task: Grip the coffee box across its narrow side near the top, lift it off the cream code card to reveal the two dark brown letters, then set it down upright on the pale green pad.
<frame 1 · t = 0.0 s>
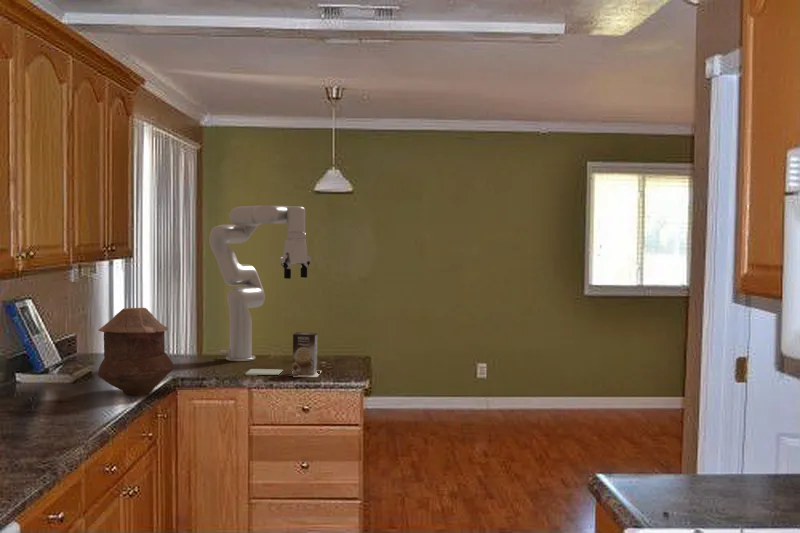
hand: (295, 277, 361), 37 cm above the countertop, tool pointing down, fingers open, 9 cm apart
coffee box: (304, 373, 349), resting on code card
green pad: (264, 373, 349), on the countertop
code card: (304, 373, 349), on the countertop
pottery vessel: (135, 393, 307), on the countertop
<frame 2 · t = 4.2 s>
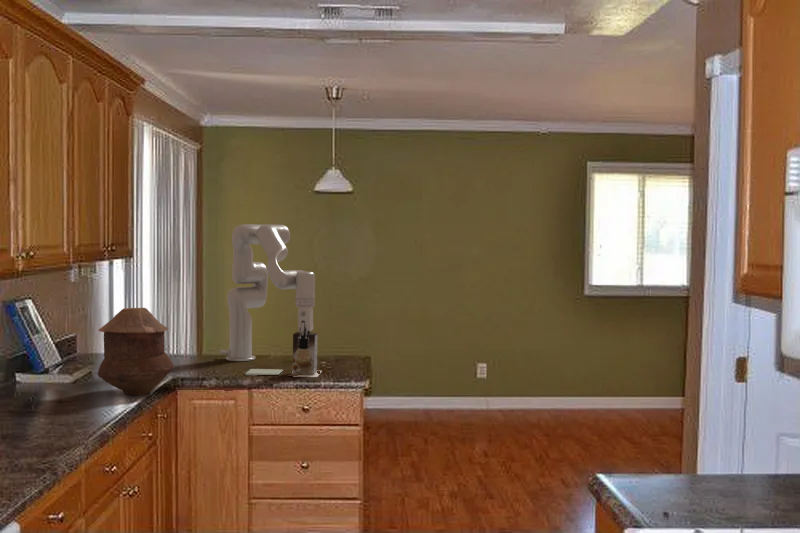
hand: (304, 347, 348), 11 cm above the countertop, tool pointing down, fingers closed on coffee box, 6 cm apart
coffee box: (304, 373, 349), resting on code card, touching gripper
everything else where it was.
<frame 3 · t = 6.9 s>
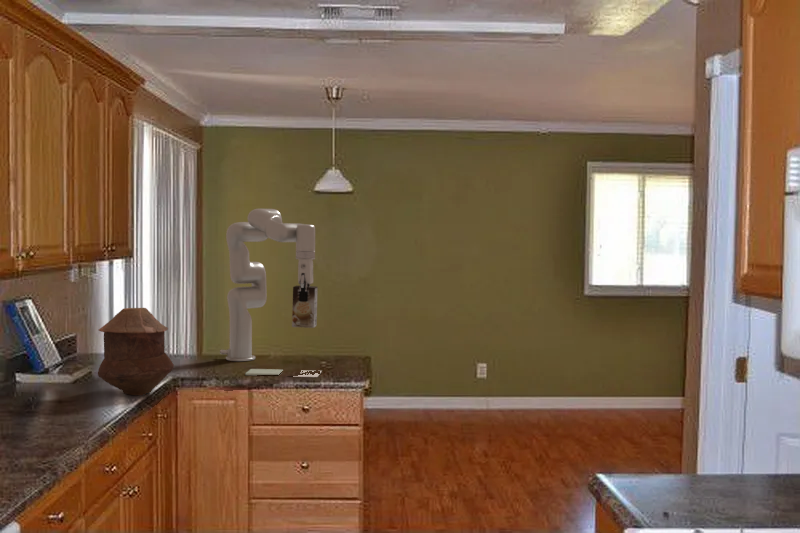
hand: (304, 300, 348), 29 cm above the countertop, tool pointing down, fingers closed on coffee box, 6 cm apart
coffee box: (304, 327, 348), point 19 cm above the countertop, touching gripper
everything else where it was.
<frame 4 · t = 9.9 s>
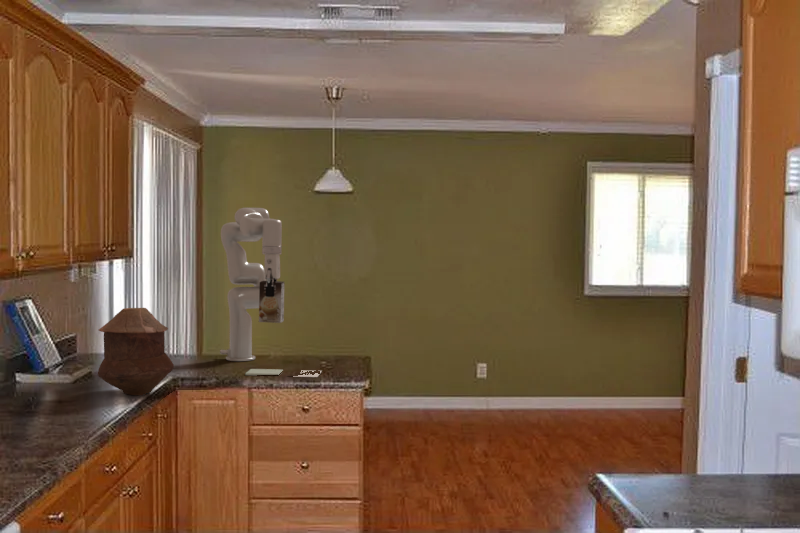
hand: (271, 295, 347), 31 cm above the countertop, tool pointing down, fingers closed on coffee box, 6 cm apart
coffee box: (271, 322, 348), point 20 cm above the countertop, touching gripper
everything else where it was.
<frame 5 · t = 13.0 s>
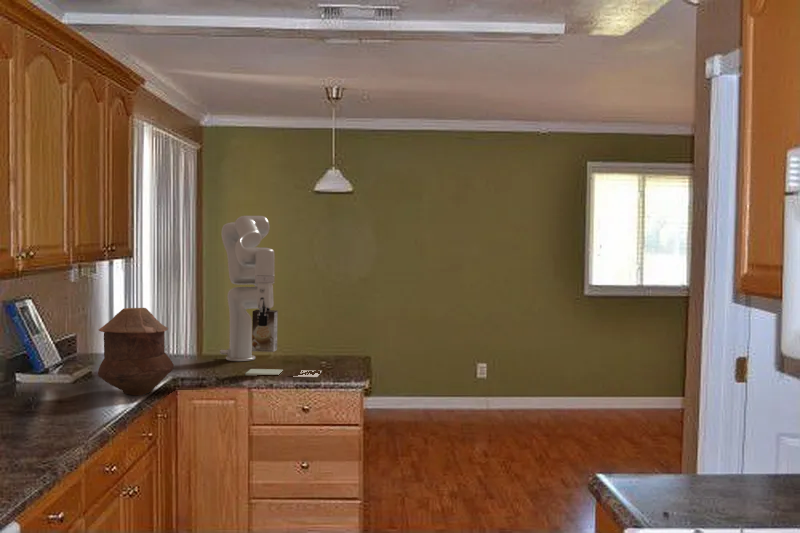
hand: (264, 324, 348), 20 cm above the countertop, tool pointing down, fingers closed on coffee box, 6 cm apart
coffee box: (264, 351, 348), point 9 cm above the countertop, touching gripper
everything else where it was.
when the fingers open (13 cm above the countertop, at t = 15.6 s): coffee box drops 2 cm, resting on green pad.
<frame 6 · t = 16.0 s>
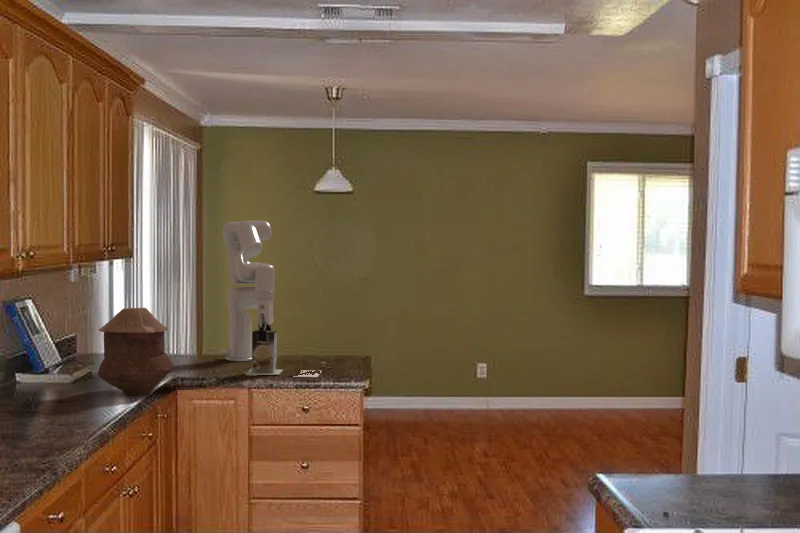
hand: (264, 338, 348), 14 cm above the countertop, tool pointing down, fingers open, 9 cm apart
coffee box: (264, 371, 349), point 1 cm above the countertop, touching green pad
everything else where it was.
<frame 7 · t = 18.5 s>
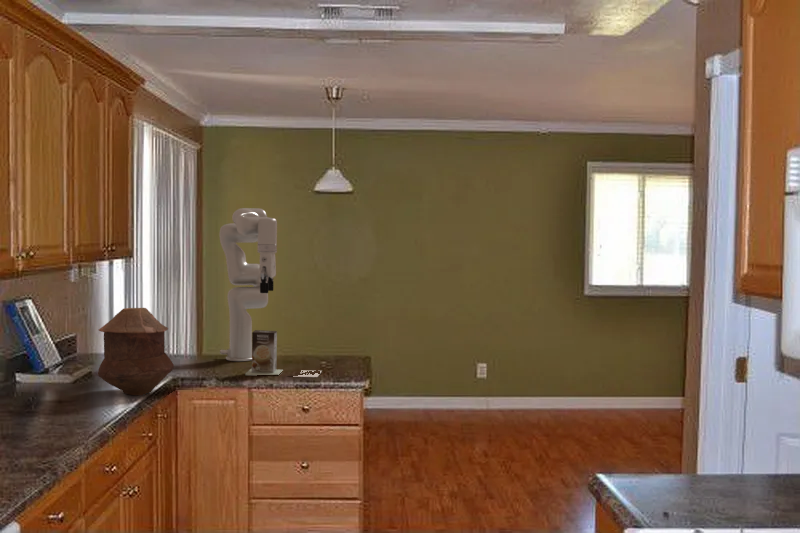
hand: (266, 291, 349), 32 cm above the countertop, tool pointing down, fingers open, 9 cm apart
nothing on the countertop moved.
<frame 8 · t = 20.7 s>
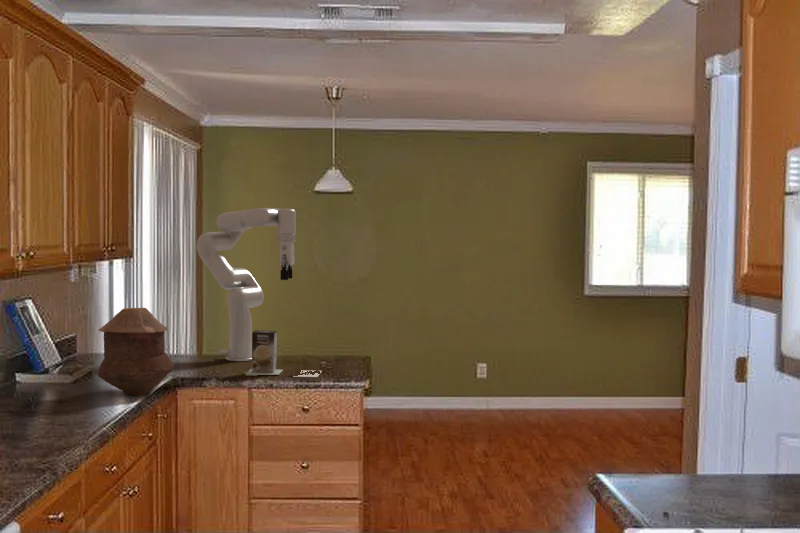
hand: (286, 279, 368), 36 cm above the countertop, tool pointing down, fingers open, 9 cm apart
nothing on the countertop moved.
at the end: coffee box inside the target area on the green pad (0.1 cm from its centre), point 0.6 cm above the green pad's base; coffee box tilted 0°; the gripper is holding nothing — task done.
